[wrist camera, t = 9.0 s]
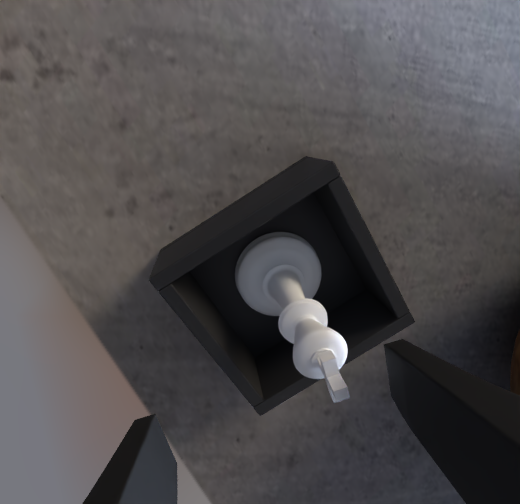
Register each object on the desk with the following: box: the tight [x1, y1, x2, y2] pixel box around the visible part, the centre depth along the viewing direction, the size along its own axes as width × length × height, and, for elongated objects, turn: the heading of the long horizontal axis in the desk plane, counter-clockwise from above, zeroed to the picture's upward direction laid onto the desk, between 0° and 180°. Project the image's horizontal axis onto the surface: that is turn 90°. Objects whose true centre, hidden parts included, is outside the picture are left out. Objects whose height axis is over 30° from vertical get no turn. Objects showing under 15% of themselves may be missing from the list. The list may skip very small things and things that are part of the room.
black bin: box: [149, 156, 415, 416], centre depth 18 cm, size 9×9×4 cm
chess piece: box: [235, 232, 350, 403], centre depth 15 cm, size 5×5×10 cm
